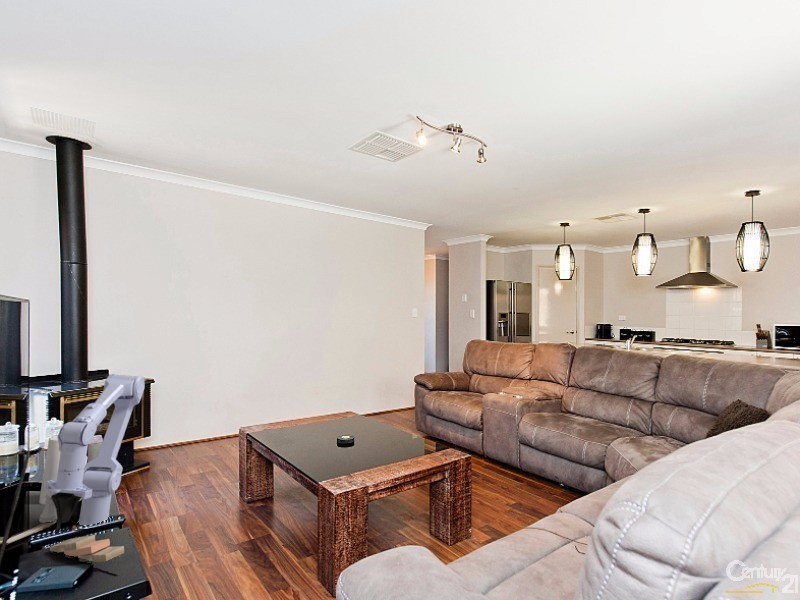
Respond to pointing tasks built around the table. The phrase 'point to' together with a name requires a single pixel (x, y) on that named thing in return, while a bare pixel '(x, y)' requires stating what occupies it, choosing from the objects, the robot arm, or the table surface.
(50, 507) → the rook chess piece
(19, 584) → the table surface
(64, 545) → the birch domino
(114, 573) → the table surface
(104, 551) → the birch domino
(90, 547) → the terracotta domino
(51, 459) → the candle
